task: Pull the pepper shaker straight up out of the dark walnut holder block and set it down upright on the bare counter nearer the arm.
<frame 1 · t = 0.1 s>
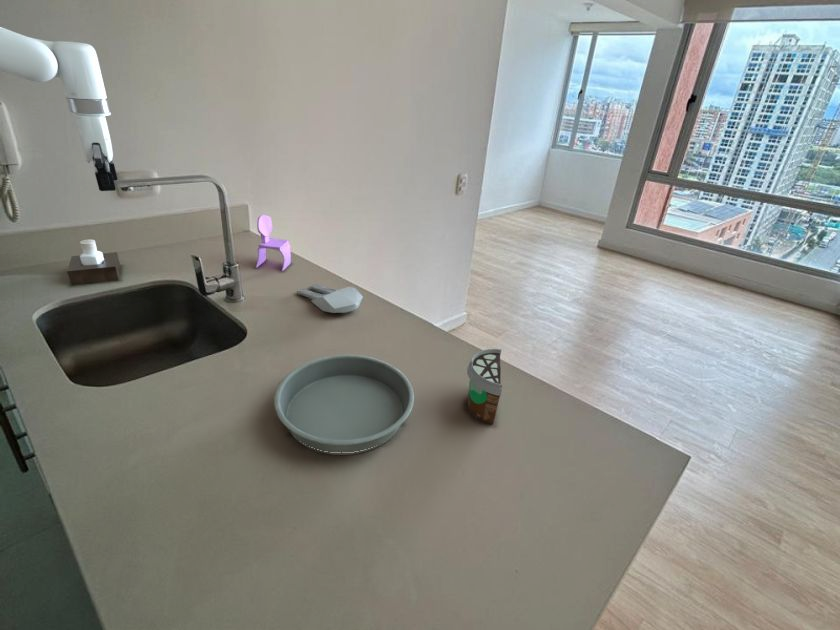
hand: (109, 185, 107), 25 cm above the countertop, tool pointing down, fingers open, 9 cm apart
turret: (329, 304, 118), on the countertop
holder: (97, 274, 120), on the countertop
pepper shaker: (97, 275, 120), resting in holder
food container: (477, 406, 87), on the countertop
cake pan: (345, 412, 83), on the countertop
toy chair: (274, 266, 135), on the countertop
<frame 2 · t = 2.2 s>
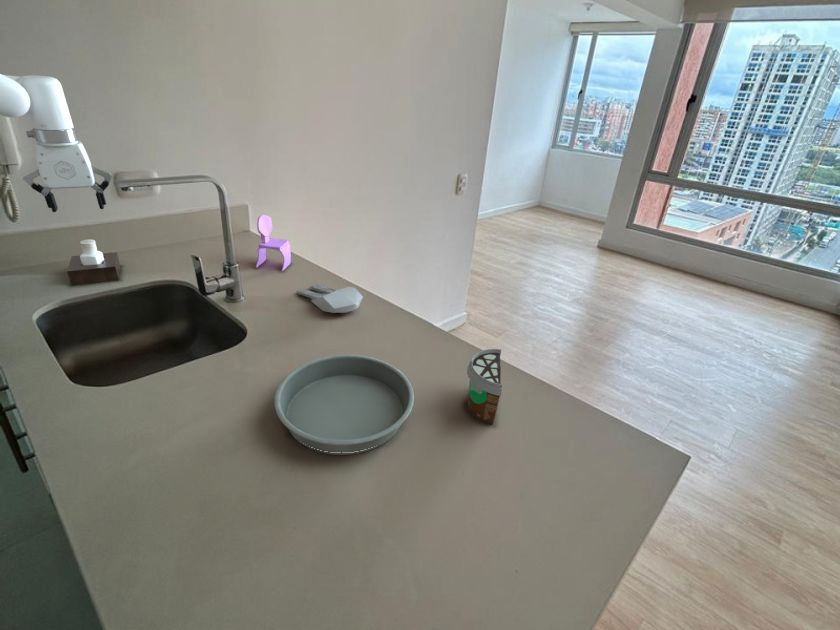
hand: (79, 209, 112), 18 cm above the countertop, tool pointing down, fingers open, 9 cm apart
nothing on the countertop moved.
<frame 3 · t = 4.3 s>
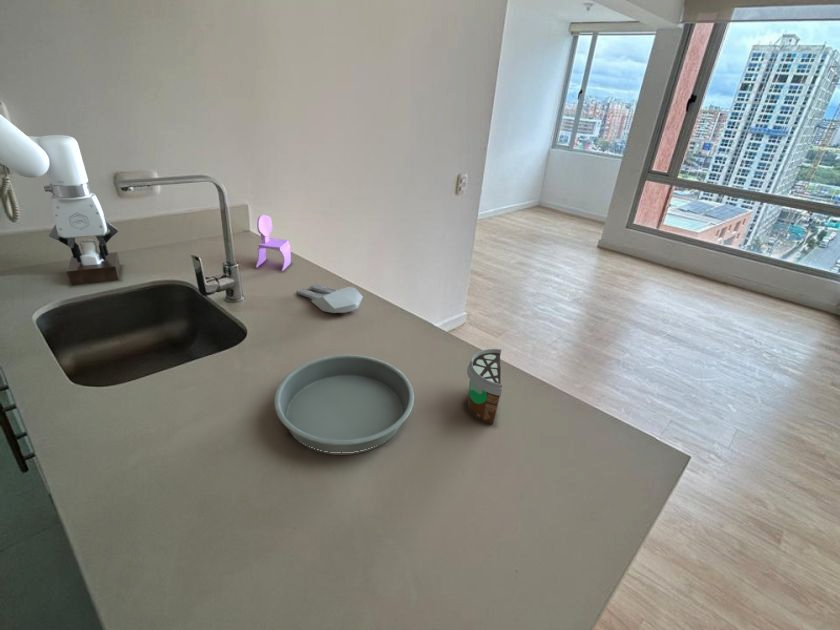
hand: (92, 258, 118), 5 cm above the countertop, tool pointing down, fingers closed on pepper shaker, 4 cm apart
pepper shaker: (97, 275, 120), resting in holder, touching gripper
everything else where it was.
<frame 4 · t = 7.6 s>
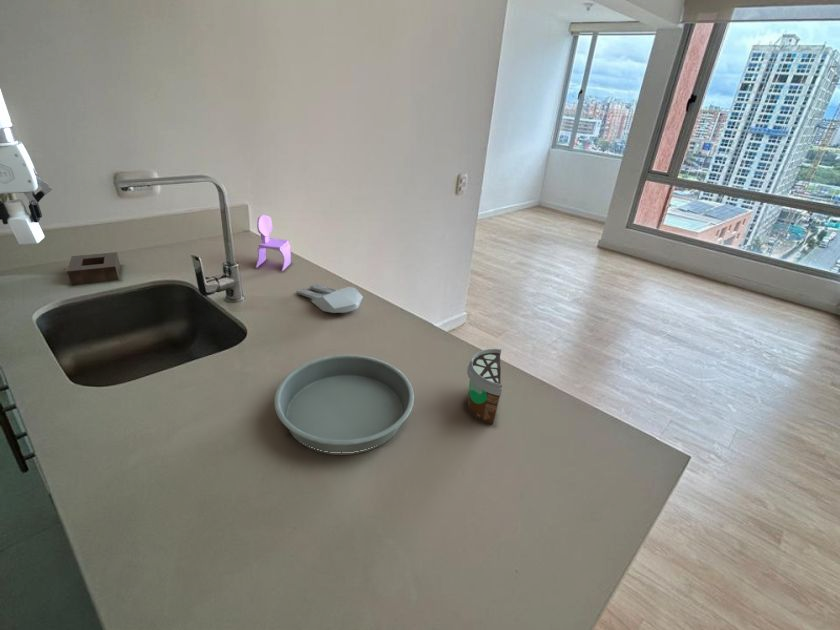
hand: (22, 220, 101), 18 cm above the countertop, tool pointing down, fingers closed on pepper shaker, 4 cm apart
pepper shaker: (33, 242, 104), point 13 cm above the countertop, touching gripper
everything else where it was.
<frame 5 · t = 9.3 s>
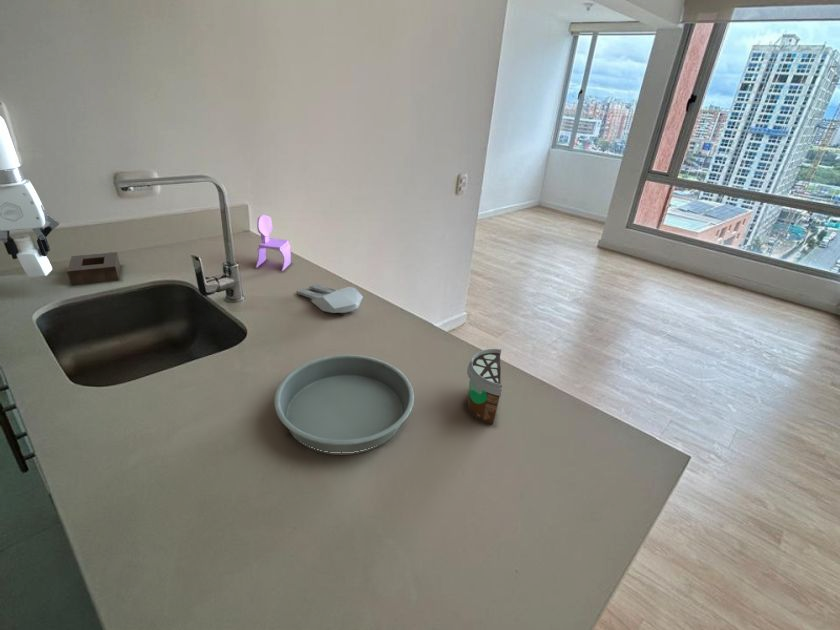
hand: (30, 254, 104), 11 cm above the countertop, tool pointing down, fingers closed on pepper shaker, 4 cm apart
pepper shaker: (41, 274, 107), point 5 cm above the countertop, touching gripper
everything else where it was.
when the fingers open (5 cm above the countertop, at t = 10.9 s): pepper shaker stays where it is, on the countertop.
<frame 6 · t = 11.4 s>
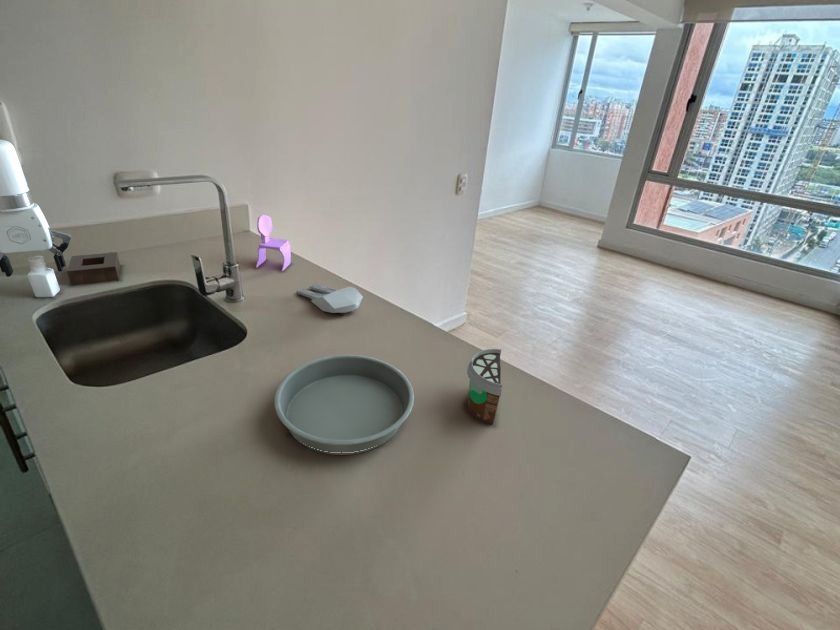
hand: (36, 271, 106), 6 cm above the countertop, tool pointing down, fingers open, 9 cm apart
pepper shaker: (48, 294, 110), on the countertop
everything else where it was.
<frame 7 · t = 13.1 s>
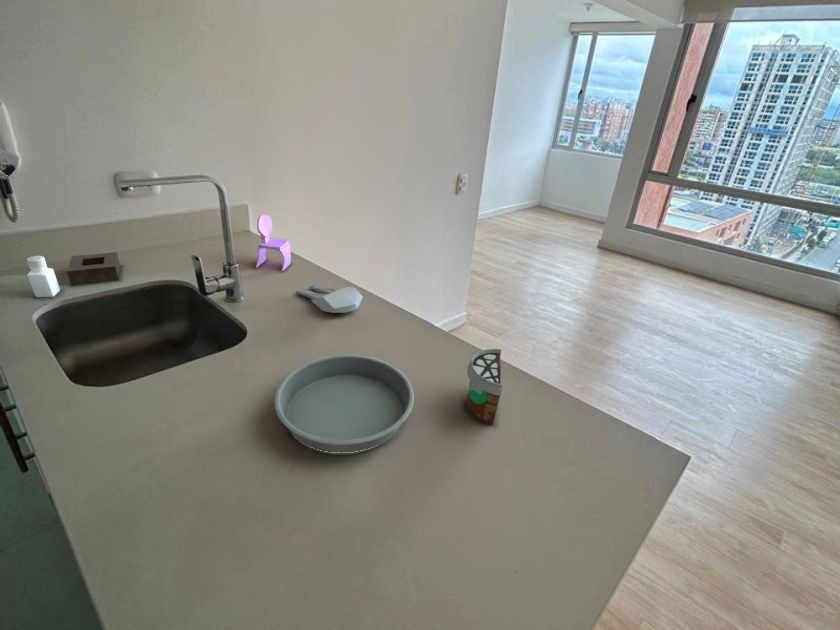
nothing on the countertop moved.
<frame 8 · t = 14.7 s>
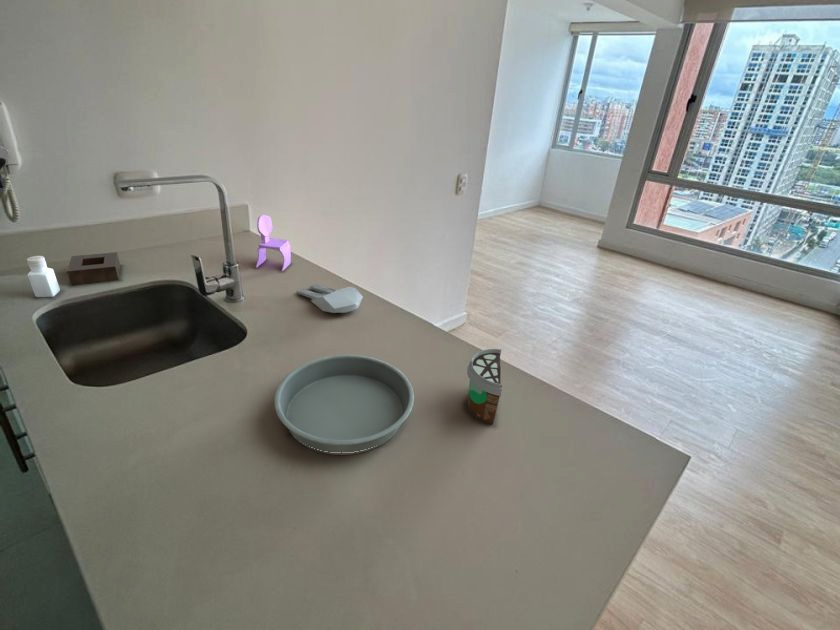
nothing on the countertop moved.
at the end: pepper shaker 0.6 cm from the target spot, on the countertop; pepper shaker tilted 0°; pepper shaker touching countertop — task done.
